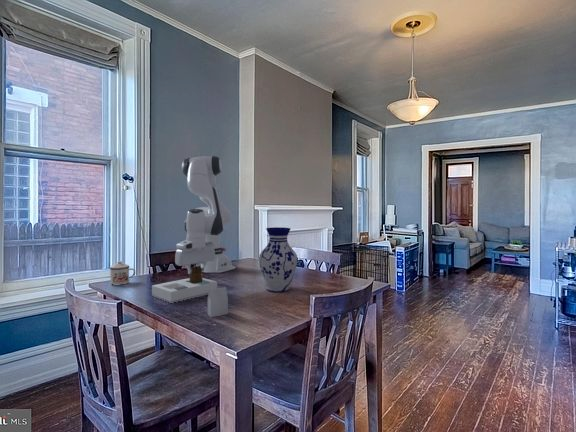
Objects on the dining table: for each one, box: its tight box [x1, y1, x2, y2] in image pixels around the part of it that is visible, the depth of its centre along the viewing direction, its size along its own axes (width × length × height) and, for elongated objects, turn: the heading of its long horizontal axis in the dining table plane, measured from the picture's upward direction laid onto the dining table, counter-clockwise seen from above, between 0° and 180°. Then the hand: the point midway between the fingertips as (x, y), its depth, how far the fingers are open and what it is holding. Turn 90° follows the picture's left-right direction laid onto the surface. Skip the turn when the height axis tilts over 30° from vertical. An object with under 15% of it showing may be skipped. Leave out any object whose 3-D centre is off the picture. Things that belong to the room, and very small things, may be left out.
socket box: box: [151, 277, 218, 304], centre depth 156 cm, size 24×16×5 cm, turn 139°
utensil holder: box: [189, 260, 203, 284], centre depth 161 cm, size 6×6×12 cm
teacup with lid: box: [109, 260, 136, 285], centre depth 176 cm, size 12×9×12 cm
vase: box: [258, 226, 299, 293], centre depth 166 cm, size 19×19×30 cm
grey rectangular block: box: [207, 286, 229, 318], centre depth 130 cm, size 4×7×10 cm, turn 124°
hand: (196, 272), depth 161 cm, fingers closed on utensil holder, 5 cm apart
